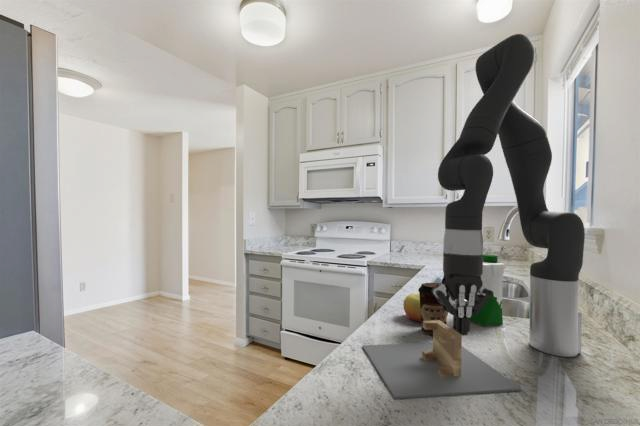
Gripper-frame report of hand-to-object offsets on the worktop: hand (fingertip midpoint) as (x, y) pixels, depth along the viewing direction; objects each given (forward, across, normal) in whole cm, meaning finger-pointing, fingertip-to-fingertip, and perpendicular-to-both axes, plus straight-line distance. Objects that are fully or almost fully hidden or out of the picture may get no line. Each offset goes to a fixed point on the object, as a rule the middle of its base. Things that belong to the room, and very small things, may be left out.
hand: (461, 333), depth 62 cm
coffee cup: (+7, -4, -18) cm, 20 cm away
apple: (+7, -5, -28) cm, 29 cm away
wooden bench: (+7, +4, 0) cm, 8 cm away
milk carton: (+7, -24, -25) cm, 35 cm away
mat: (+7, +6, -1) cm, 9 cm away
